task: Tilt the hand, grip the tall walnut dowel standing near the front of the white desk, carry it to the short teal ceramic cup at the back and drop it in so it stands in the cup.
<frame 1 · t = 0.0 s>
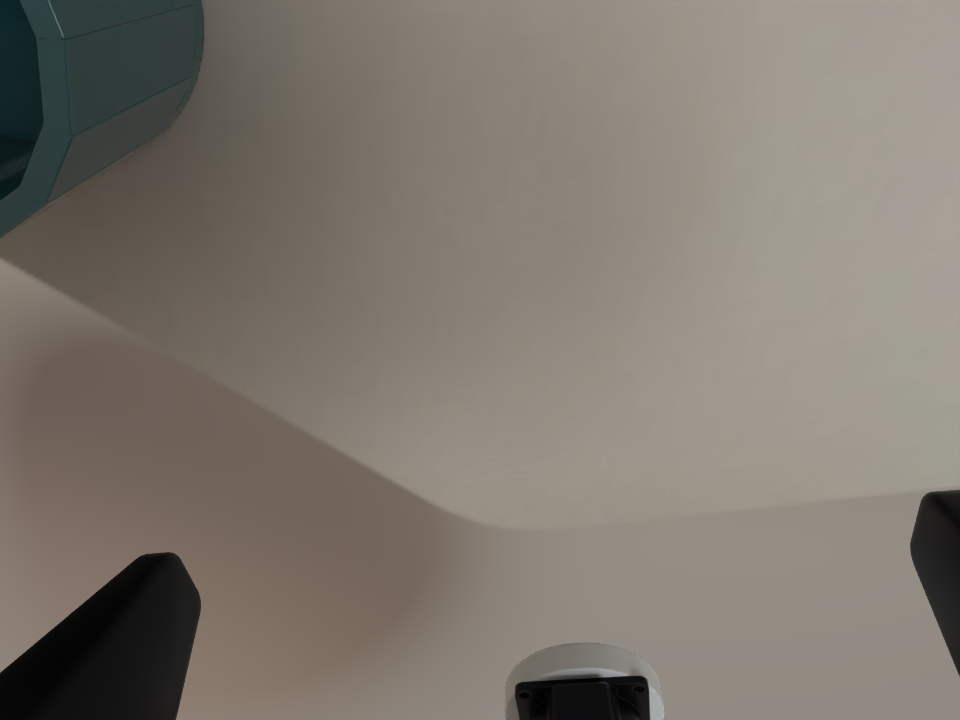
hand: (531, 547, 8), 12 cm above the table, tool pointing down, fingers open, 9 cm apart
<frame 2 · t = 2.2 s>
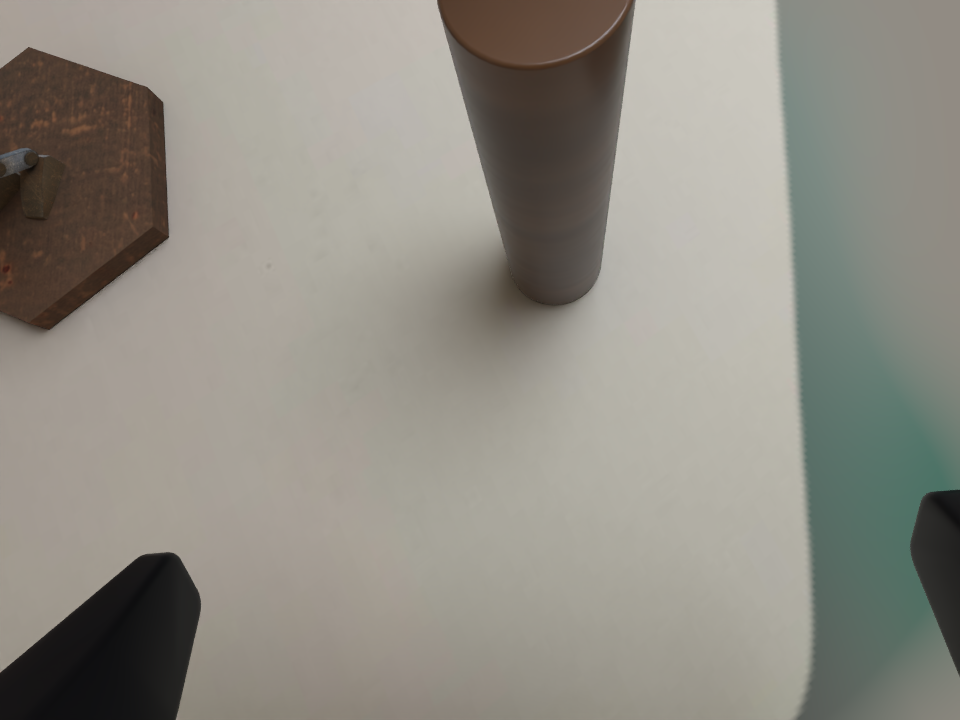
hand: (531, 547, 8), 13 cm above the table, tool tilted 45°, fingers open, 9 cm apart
dowel: (555, 261, 23), on the table
robot figurine: (48, 191, 26), on the table
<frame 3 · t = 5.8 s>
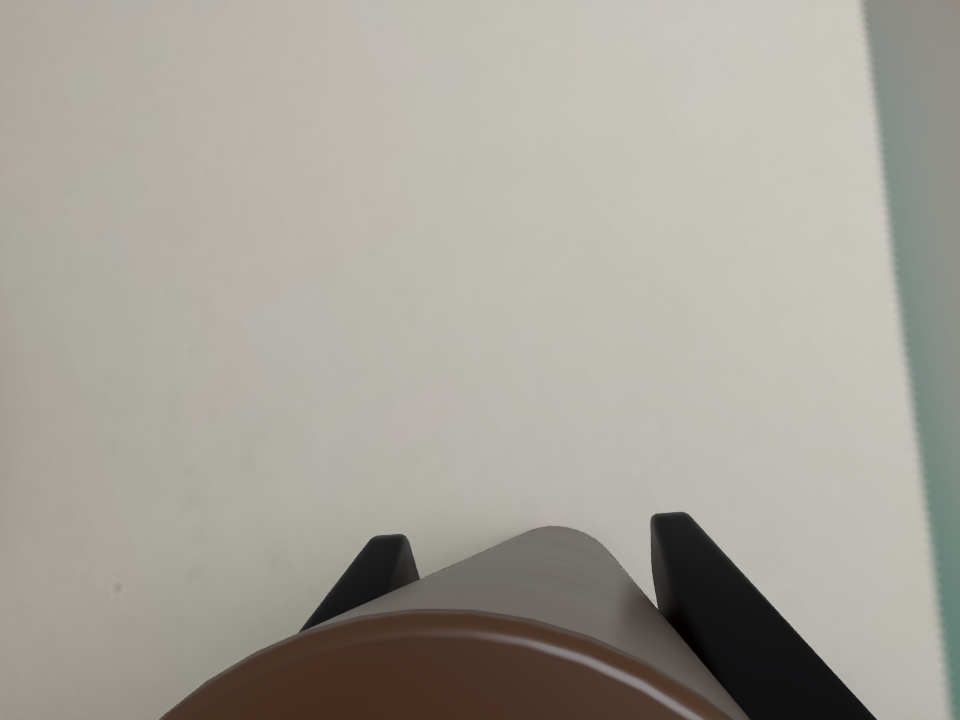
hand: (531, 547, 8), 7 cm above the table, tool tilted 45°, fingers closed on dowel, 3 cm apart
dowel: (556, 599, 15), on the table, touching gripper
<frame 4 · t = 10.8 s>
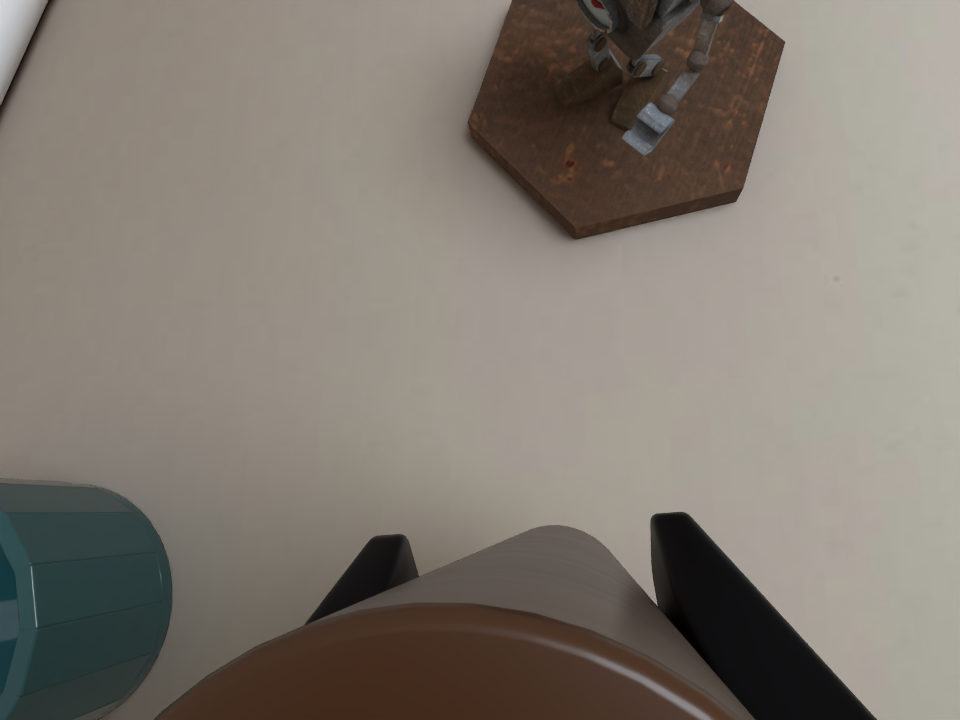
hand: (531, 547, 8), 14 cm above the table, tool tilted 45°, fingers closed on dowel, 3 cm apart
cup: (62, 603, 23), on the table
dowel: (556, 598, 15), point 7 cm above the table, touching gripper
robot figurine: (617, 99, 25), on the table
marker: (36, 20, 29), on the table
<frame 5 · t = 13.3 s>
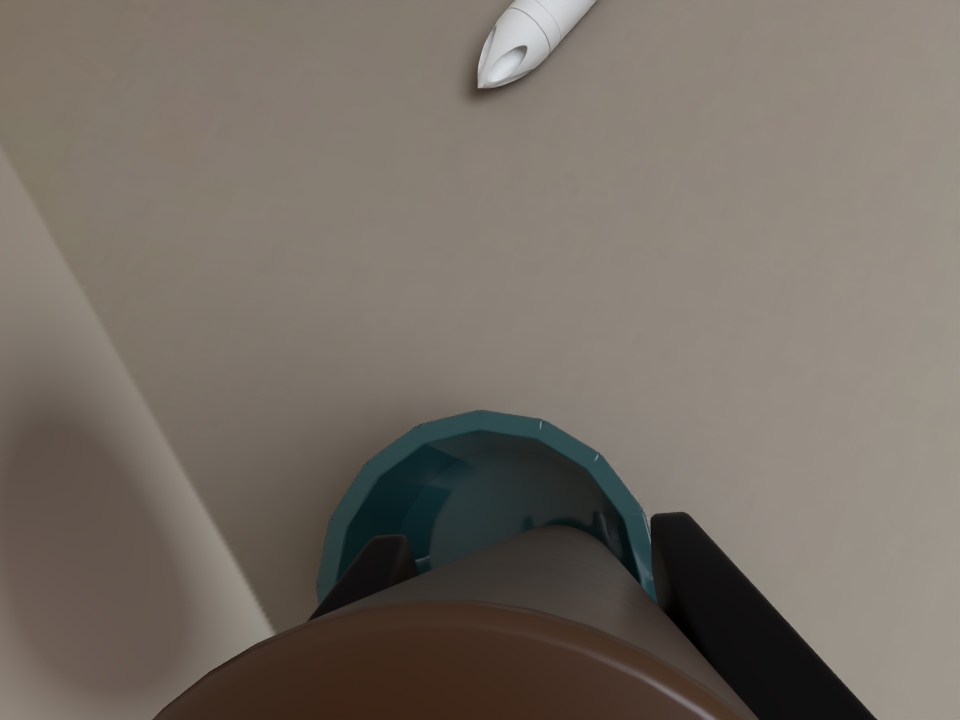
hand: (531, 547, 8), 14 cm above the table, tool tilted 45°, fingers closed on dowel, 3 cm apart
cup: (507, 563, 22), on the table
dowel: (556, 598, 15), point 7 cm above the table, touching gripper
when the fingers open (10 cm above the table, at t = 15.7 s): dowel drops 2 cm, resting on cup.
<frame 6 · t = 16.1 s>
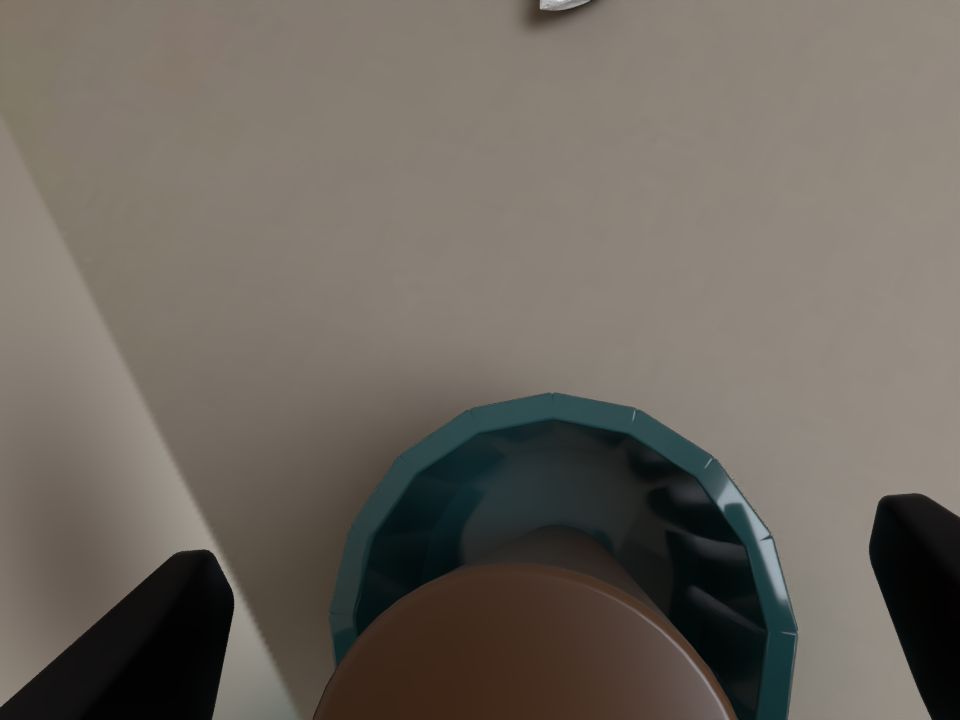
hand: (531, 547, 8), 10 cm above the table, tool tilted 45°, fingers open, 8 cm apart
cup: (559, 586, 18), on the table
dowel: (559, 588, 17), point 1 cm above the table, touching cup
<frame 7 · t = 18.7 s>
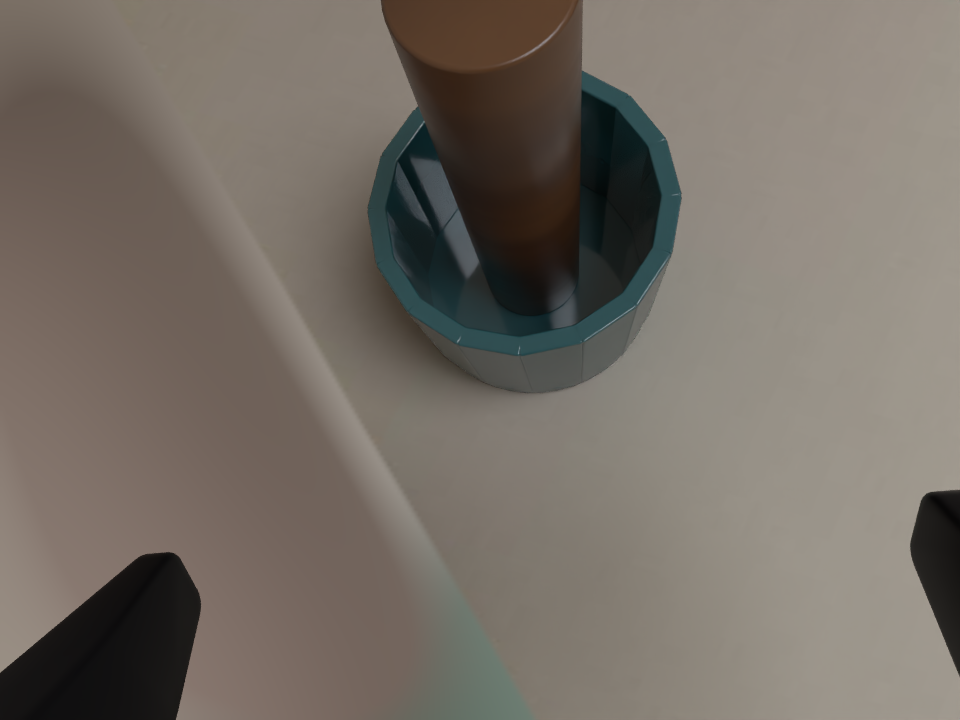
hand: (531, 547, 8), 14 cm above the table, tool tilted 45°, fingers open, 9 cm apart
cup: (533, 278, 23), on the table
dowel: (532, 272, 23), point 1 cm above the table, touching cup
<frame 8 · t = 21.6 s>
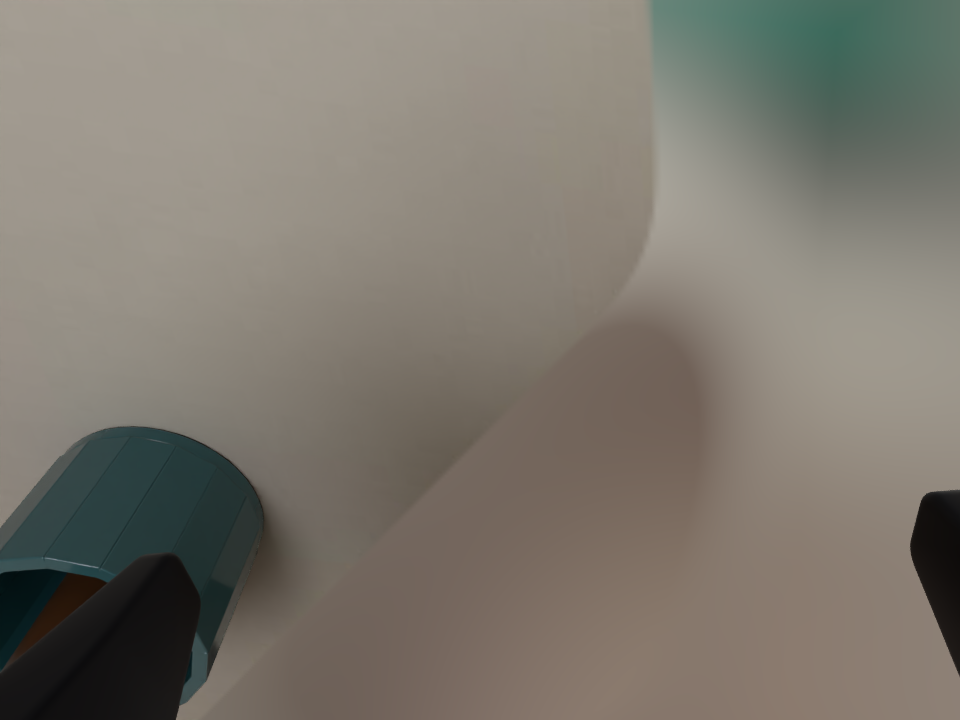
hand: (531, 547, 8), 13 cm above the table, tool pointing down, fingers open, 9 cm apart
cup: (161, 506, 27), on the table
dowel: (154, 518, 26), point 1 cm above the table, touching cup
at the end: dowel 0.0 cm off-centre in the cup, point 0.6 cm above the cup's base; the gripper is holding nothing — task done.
